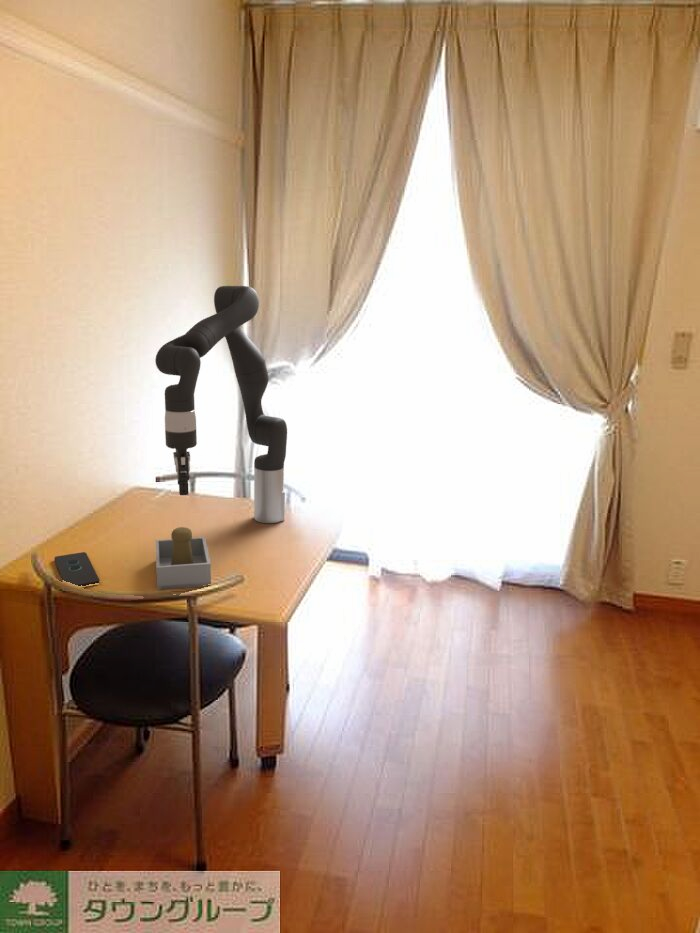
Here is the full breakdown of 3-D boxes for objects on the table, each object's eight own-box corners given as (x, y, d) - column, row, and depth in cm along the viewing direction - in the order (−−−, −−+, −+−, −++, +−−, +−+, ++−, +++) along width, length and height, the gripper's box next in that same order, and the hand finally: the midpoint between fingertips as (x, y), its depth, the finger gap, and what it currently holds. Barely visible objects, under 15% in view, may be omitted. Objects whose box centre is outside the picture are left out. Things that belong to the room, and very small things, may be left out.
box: (205, 557, 190) (204, 536, 188) (210, 585, 173) (210, 563, 172) (156, 560, 186) (155, 540, 185) (157, 590, 170) (156, 567, 168)
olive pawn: (172, 563, 183) (171, 524, 180) (195, 563, 183) (194, 524, 180) (169, 573, 177) (167, 533, 174) (193, 573, 178) (192, 533, 175)
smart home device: (86, 551, 188) (100, 580, 171) (86, 556, 188) (100, 586, 172) (53, 556, 184) (64, 586, 167) (53, 562, 184) (65, 592, 168)
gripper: (198, 433, 165) (200, 497, 170) (194, 420, 178) (196, 480, 183) (165, 434, 163) (168, 499, 168) (164, 421, 176) (166, 481, 181)
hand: (183, 489), depth 175 cm, fingers open, 8 cm apart
